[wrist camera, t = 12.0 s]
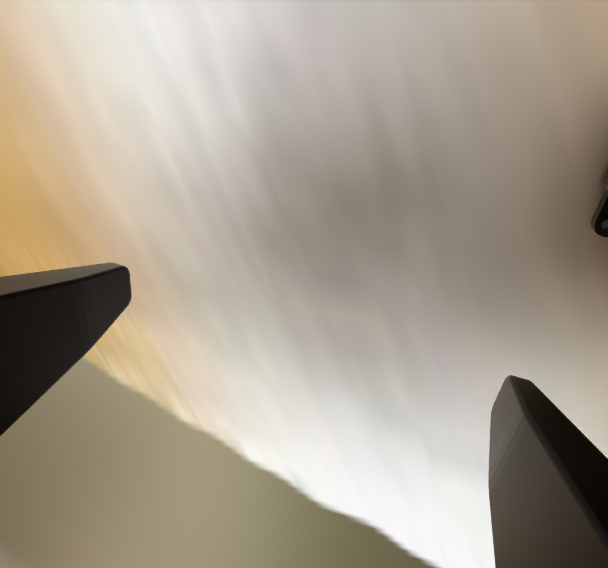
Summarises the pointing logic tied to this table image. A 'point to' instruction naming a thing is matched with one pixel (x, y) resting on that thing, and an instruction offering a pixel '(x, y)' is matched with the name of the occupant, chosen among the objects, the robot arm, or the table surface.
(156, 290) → the table surface
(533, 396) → the robot arm
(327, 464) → the table surface
